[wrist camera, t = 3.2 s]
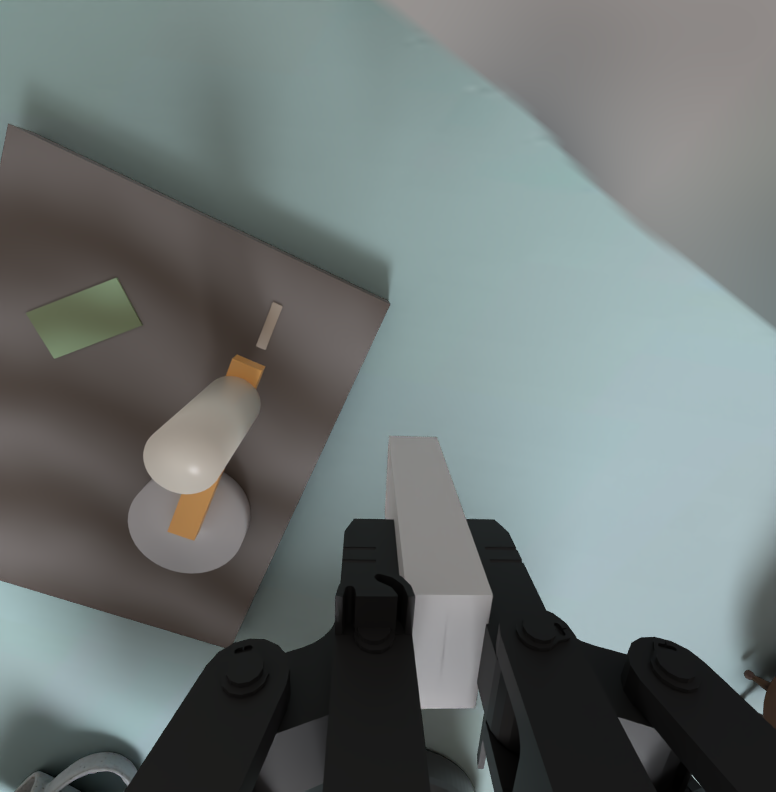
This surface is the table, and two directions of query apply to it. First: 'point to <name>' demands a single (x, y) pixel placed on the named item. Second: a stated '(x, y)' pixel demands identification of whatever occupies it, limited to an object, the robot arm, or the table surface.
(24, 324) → the dial plate
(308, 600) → the table surface
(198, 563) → the dial
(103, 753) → the ceramic mug
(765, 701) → the alarm clock
